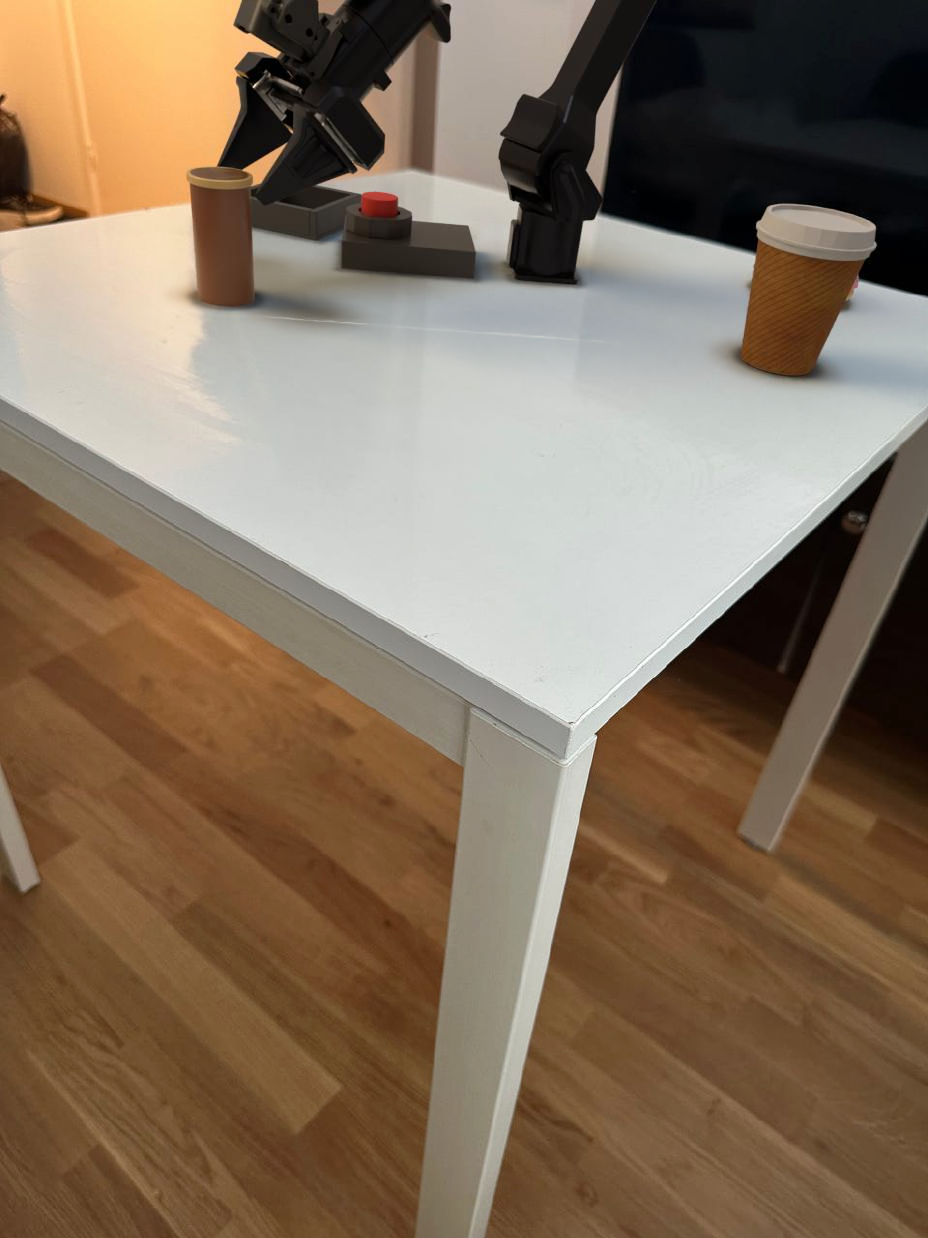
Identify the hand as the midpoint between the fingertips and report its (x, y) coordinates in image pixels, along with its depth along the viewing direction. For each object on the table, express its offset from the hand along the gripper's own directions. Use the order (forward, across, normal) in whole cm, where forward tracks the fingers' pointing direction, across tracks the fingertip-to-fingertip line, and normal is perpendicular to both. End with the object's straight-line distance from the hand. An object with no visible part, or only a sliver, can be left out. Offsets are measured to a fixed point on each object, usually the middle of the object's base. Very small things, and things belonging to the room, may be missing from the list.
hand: (239, 186), depth 76 cm
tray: (-4, -22, +16) cm, 28 cm away
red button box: (-8, -7, +20) cm, 23 cm away
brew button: (-9, -8, +16) cm, 20 cm away
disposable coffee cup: (-21, +27, +34) cm, 48 cm away
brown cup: (+7, 0, +5) cm, 9 cm away
